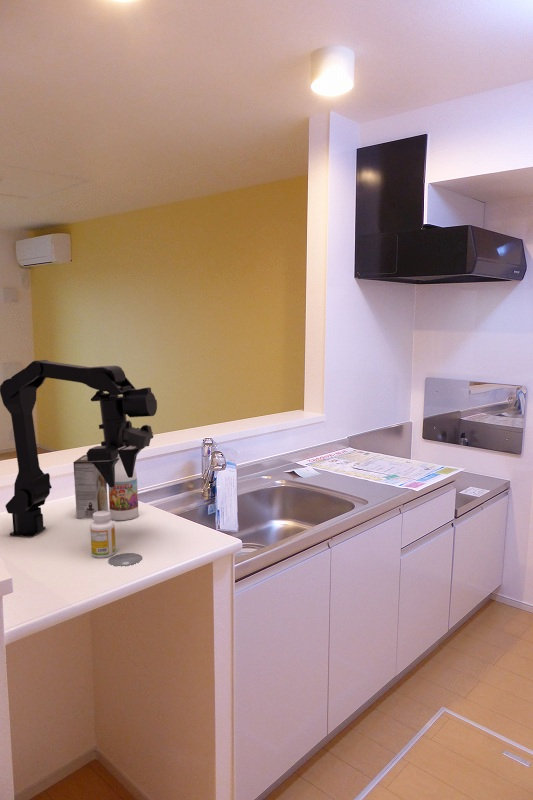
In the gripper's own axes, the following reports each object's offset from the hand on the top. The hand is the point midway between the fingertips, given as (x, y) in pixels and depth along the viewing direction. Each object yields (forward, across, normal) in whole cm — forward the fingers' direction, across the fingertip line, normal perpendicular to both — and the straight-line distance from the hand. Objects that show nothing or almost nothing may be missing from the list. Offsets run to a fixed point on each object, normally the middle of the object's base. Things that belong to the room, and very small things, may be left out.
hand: (121, 482), depth 142 cm
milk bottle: (+14, +17, +10) cm, 24 cm away
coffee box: (+13, +17, +20) cm, 30 cm away
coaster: (+15, -11, -5) cm, 19 cm away
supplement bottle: (+15, -9, +2) cm, 17 cm away
